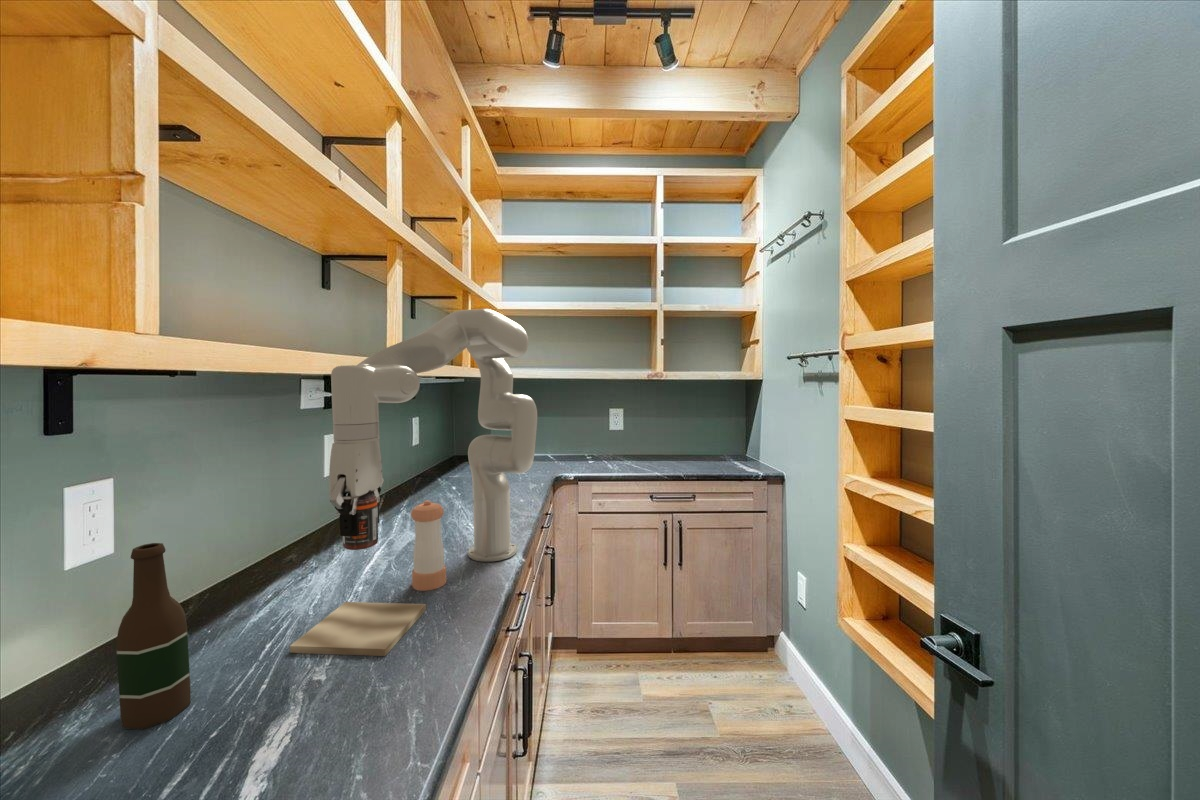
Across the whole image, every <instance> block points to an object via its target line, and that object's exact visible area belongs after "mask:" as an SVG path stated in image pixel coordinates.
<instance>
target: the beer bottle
mask: <svg viewBox="0 0 1200 800" xmlns="http://www.w3.org/2000/svg"><path fill="white" fill-rule="evenodd" d="M164 553H166V547H165V545H164V543H162V542H161V543H160V542H151V543H147V544H141V545H139V546H136V547H134V548H132V549H131V554H130V559H131V560H133V575H132V577H133V583H132V601H131V605H130V607H129V608H128V610H127V611H126V612H125V614H124V615H123V617H122V619H121V622H120V624H119V627H118V629H117V636H116V665H117V677H118V678H117V680H118V693H119V695H118V696H119V711H120V719H121V726H122V728H123V729H124V728H129V729H128V730H145V729H149V728H151V727H154V726H157V725H159V724H162V723H165V722H167V721H168V722H169V721H170V720H172V719H174V718H175V717H177V715H179V714H180V713H181V712H183V711H184V710H185V709H187V708H188V707H189V706H190V704H191V690H192V689H191V676H190V674H191V673H190V659H189V656H190V653H189V640H188V638H189V637H188V626H187V619H186V618H187V617H186V612H185V610H184V608H183V607H182V605H181V603H180V602H178V601H177V600H176V599H175V598H173V596H171V594H170V590H169V586H168V582H167V581H168V580H167V573H166V566H165V560H164ZM148 727H149V728H148Z"/></svg>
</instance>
